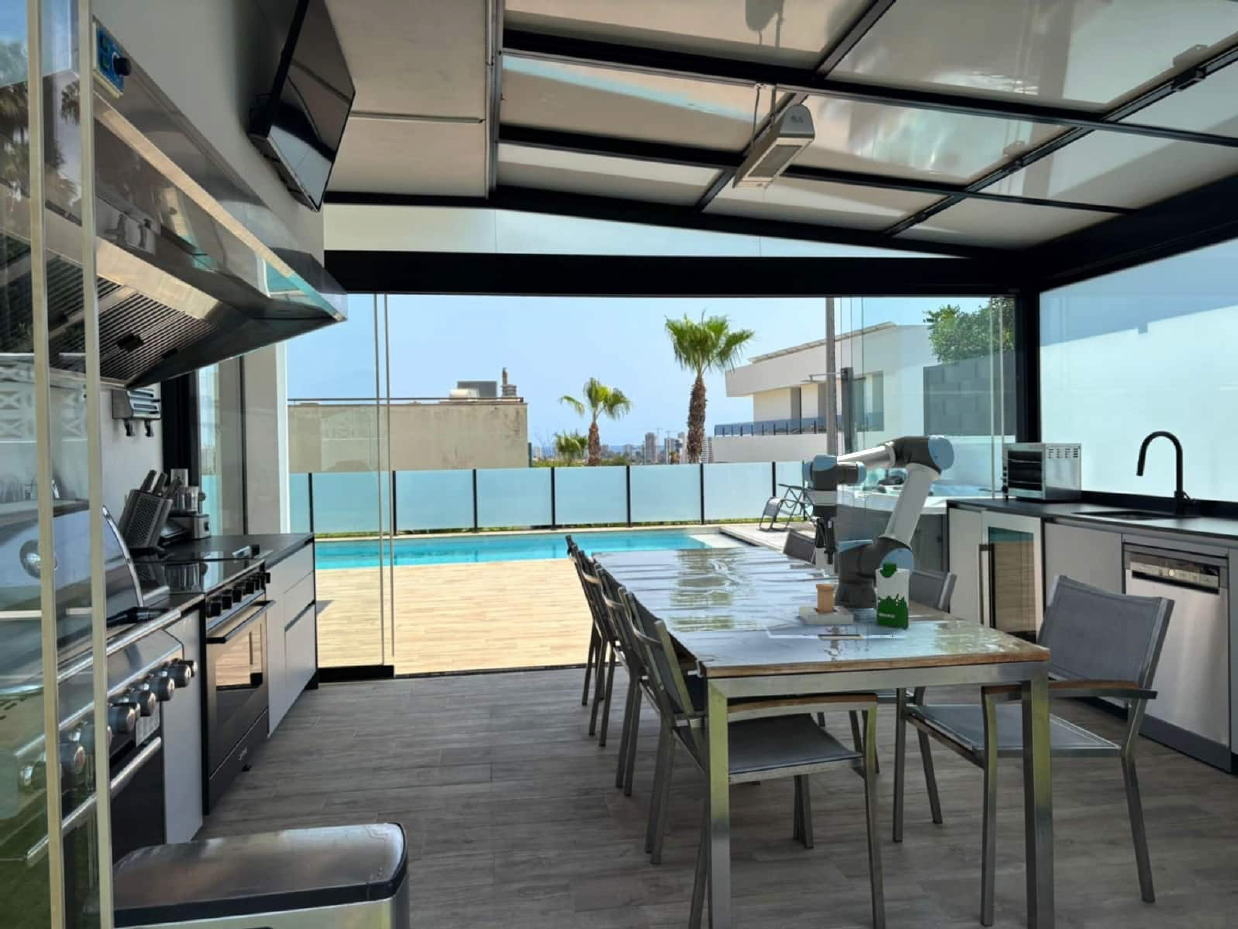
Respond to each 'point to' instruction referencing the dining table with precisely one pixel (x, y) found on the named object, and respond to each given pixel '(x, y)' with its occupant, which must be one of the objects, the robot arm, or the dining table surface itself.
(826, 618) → the housing
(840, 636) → the mat
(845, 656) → the dining table surface
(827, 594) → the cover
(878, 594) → the milk carton
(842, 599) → the robot arm
